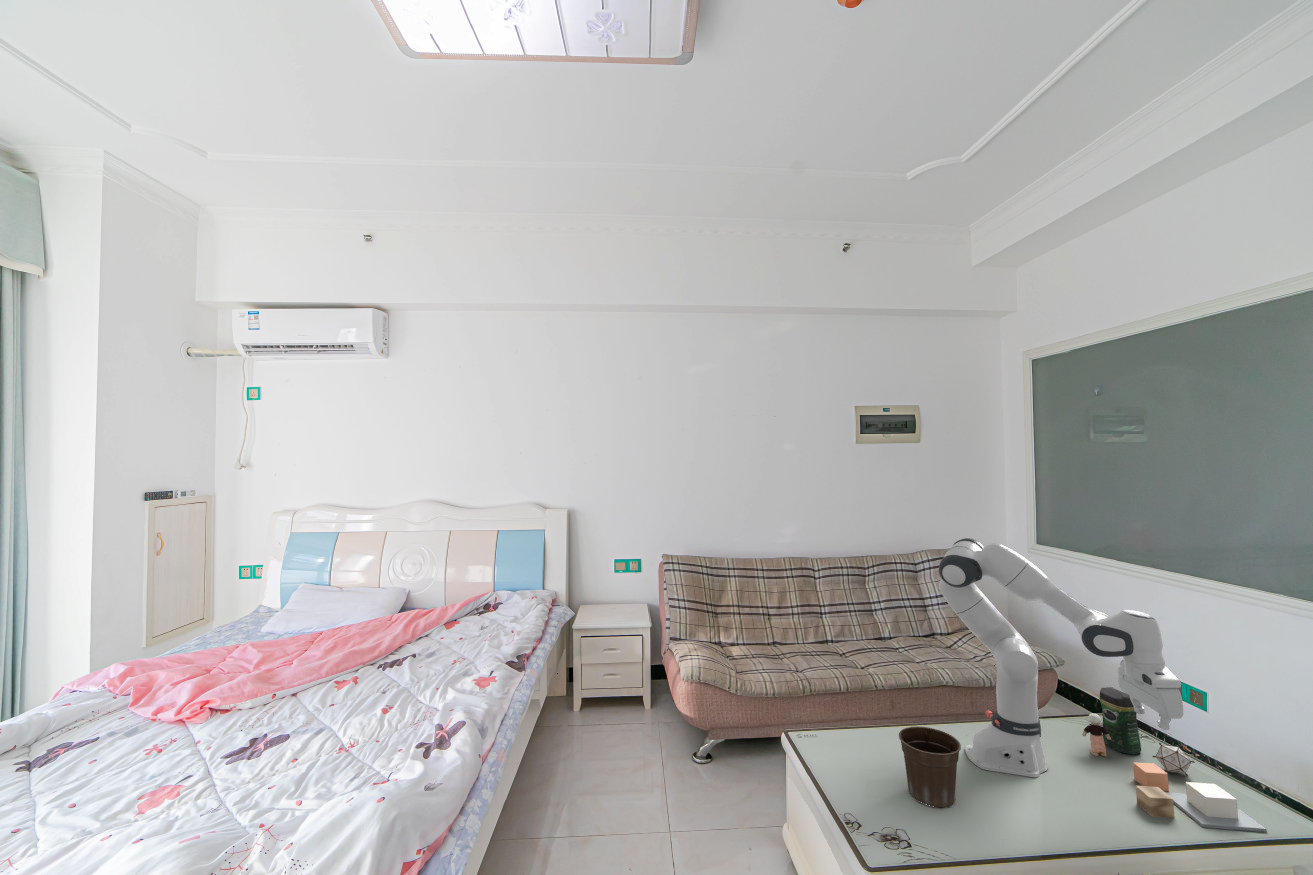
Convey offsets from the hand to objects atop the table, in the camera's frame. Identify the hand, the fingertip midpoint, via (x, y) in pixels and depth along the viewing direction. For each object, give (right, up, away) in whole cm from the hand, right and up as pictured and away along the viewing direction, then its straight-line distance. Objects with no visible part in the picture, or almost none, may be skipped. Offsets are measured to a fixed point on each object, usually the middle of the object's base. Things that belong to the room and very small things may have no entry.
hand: (1151, 720), depth 152 cm
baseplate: (+12, -22, -5) cm, 26 cm away
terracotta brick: (+7, -23, +8) cm, 26 cm away
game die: (+20, -23, +14) cm, 33 cm away
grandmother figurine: (+6, -24, +26) cm, 36 cm away
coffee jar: (+16, -24, +29) cm, 41 cm away
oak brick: (-2, -23, -3) cm, 23 cm away
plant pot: (-58, -25, +6) cm, 64 cm away
